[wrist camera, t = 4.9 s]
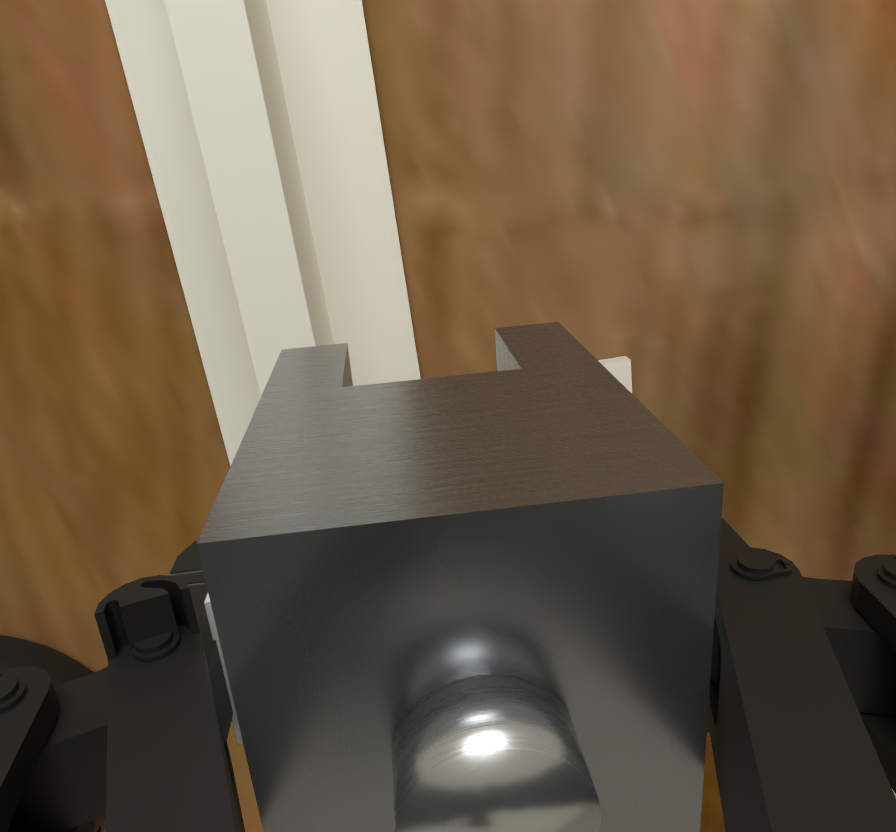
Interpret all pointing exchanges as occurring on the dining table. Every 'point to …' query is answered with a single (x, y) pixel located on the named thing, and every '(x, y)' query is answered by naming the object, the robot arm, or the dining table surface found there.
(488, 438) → the grey cube with knob
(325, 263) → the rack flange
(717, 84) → the dining table surface
